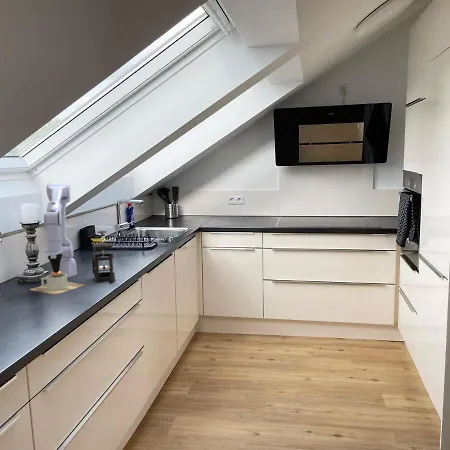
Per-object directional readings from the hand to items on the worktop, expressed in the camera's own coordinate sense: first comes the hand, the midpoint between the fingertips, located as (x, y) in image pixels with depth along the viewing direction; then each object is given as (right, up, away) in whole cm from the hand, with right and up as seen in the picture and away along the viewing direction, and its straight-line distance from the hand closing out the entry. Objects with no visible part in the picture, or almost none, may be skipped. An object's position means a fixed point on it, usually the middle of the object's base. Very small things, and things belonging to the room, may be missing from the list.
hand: (56, 271), depth 199 cm
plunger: (0, -5, +1) cm, 6 cm away
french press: (+17, -6, +13) cm, 22 cm away
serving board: (0, -8, +1) cm, 8 cm away
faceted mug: (0, -7, +1) cm, 7 cm away
